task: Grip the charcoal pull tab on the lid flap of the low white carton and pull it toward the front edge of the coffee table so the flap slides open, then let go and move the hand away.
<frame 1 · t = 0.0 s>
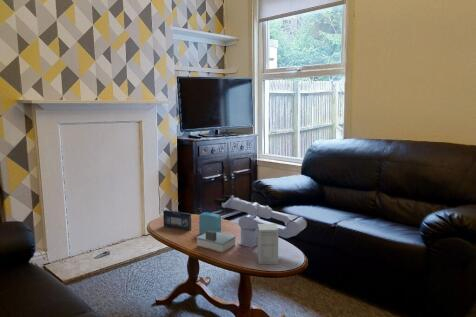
hand: (218, 199, 209), 22 cm above the table, tool horizontal, fingers open, 7 cm apart
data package: (210, 234, 215), on the table
carton: (216, 245, 198), on the table
supplement box: (267, 260, 181), on the table
lid flap: (216, 233, 197), point 7 cm above the table, slide at 0.0 cm
vhs cassette tape: (177, 228, 226), on the table
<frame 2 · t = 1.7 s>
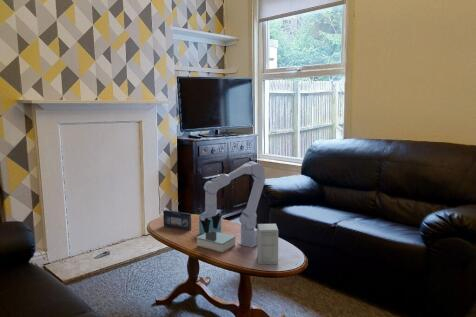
hand: (210, 230, 193), 10 cm above the table, tool pointing down, fingers open, 7 cm apart
nothing on the table moved.
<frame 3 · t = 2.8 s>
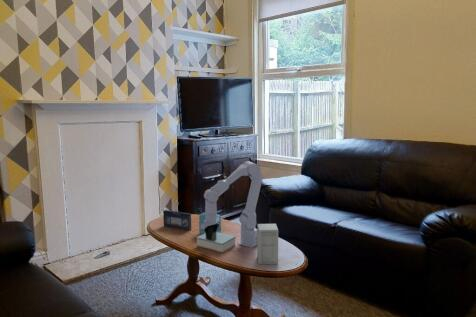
hand: (211, 238, 194), 5 cm above the table, tool pointing down, fingers closed on lid flap, 2 cm apart
lid flap: (216, 233, 197), point 7 cm above the table, slide at 0.0 cm, touching gripper
everything else where it was.
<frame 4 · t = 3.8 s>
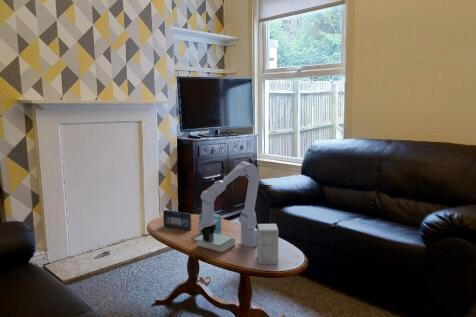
hand: (208, 240, 192), 5 cm above the table, tool pointing down, fingers closed on lid flap, 2 cm apart
lid flap: (213, 235, 195), point 7 cm above the table, slide at 2.5 cm, touching gripper
everything else where it was.
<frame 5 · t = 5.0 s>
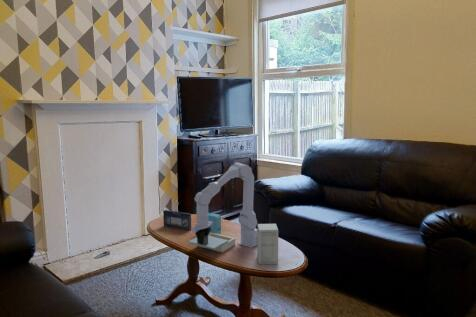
hand: (202, 242, 188), 5 cm above the table, tool pointing down, fingers closed on lid flap, 2 cm apart
lid flap: (208, 237, 191), point 7 cm above the table, slide at 7.0 cm, touching gripper
everything else where it was.
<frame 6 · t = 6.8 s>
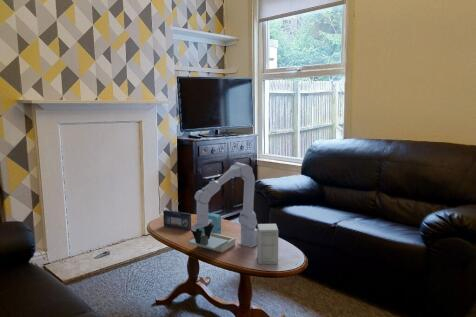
hand: (202, 240, 188), 6 cm above the table, tool pointing down, fingers open, 7 cm apart
lid flap: (208, 237, 191), point 7 cm above the table, slide at 7.0 cm
everything else where it was.
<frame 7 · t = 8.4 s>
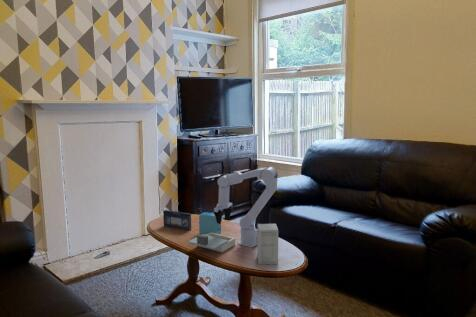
hand: (222, 221, 205), 10 cm above the table, tool pointing down, fingers open, 7 cm apart
nothing on the table moved.
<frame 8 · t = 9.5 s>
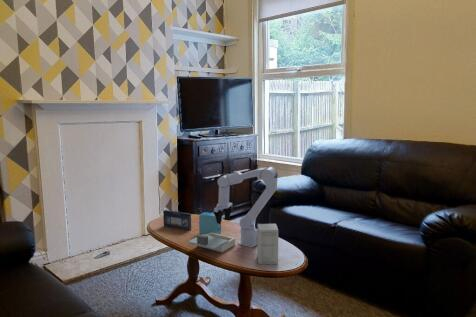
hand: (222, 221, 205), 10 cm above the table, tool pointing down, fingers open, 7 cm apart
nothing on the table moved.
at the end: lid flap slide at 7.0 cm; the gripper is holding nothing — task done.
